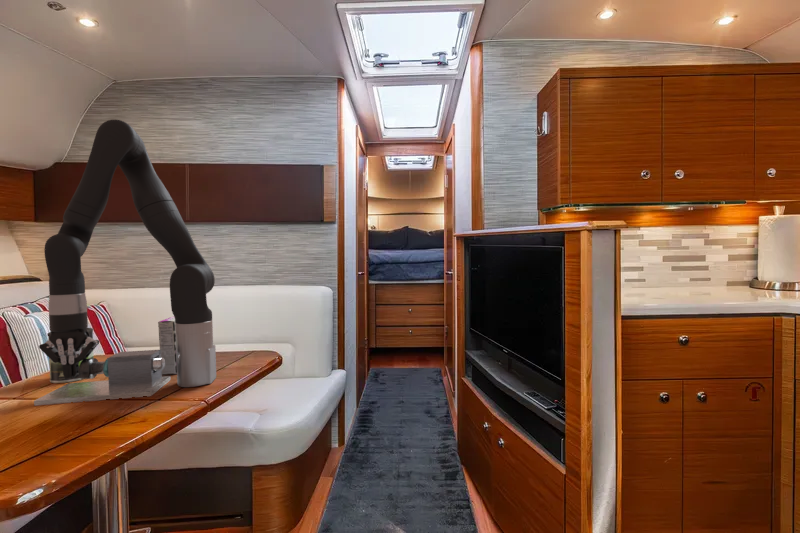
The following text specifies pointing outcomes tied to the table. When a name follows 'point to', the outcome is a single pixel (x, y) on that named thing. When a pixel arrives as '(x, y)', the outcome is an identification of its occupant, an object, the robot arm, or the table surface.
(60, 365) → the coffee can
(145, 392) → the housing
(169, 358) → the candy bar box
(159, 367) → the shaft
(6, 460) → the table surface
